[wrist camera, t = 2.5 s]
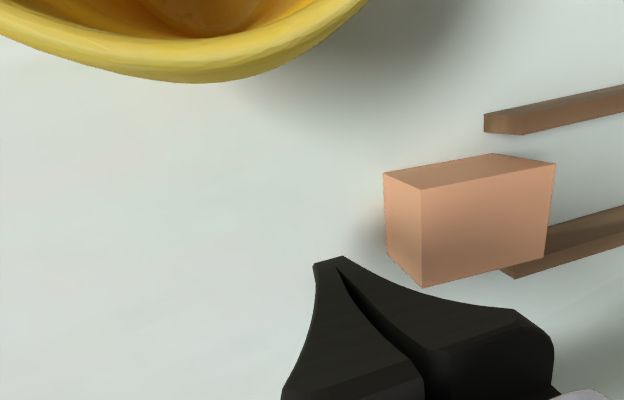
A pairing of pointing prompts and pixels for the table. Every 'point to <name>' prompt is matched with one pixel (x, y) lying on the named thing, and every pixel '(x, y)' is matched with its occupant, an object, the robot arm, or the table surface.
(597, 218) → the walled channel
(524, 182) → the terracotta block
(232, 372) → the table surface
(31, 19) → the plant pot
